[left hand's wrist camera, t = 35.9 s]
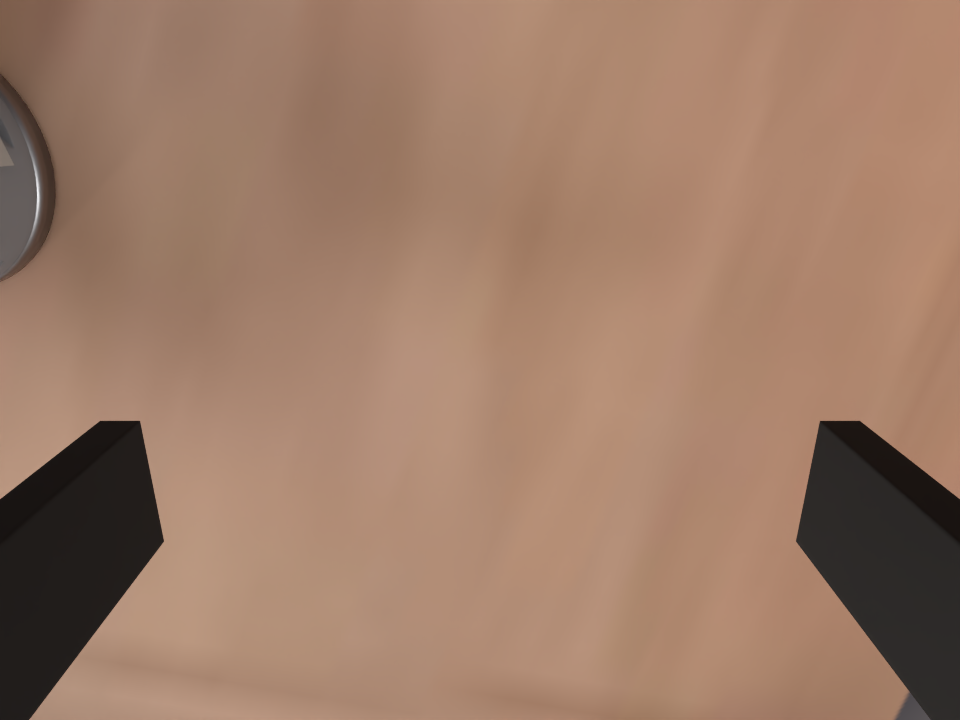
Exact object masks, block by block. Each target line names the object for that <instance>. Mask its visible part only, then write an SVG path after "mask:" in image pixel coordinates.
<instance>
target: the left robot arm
mask: <svg viewBox="0 0 960 720" xmlns="http://www.w3.org/2000/svg"><path fill="white" fill-rule="evenodd" d="M54 208H55V179H54V172H53V167H52V162H51V158H50V154H49V151H48V148H47V145H46V142H45V140H44V137H43V135H42V133H41V130H40V128H39V126H38V124H37V122H36V120H35V119H34V117H33V115H32V113H31V112H30V110H29V109H28V107H27V105H26V104H25V103H24V101H23V100H22V98H21V97H20V96H19V94H18V93H17V92H16V91H15V89H14V88H13V87H12V86H11V85H10V84H9V82H8V81H7V80H6V79H5V78H4V77H3V76H2V75H1V74H0V281H3V280H5V279H7V278H9V277H11V276H12V275H14V274H15V273H17V272H18V271H20V270H21V269H22V268H23V267H25V266H26V265H27V264H28V263H29V262H30V261H31V260H32V259H33V258H34V256H35V255H36V254H37V252H38V251H39V250H40V248H41V246H42V244H43V243H44V241H45V239H46V237H47V234H48V232H49V229H50V226H51V223H52V219H53V214H54ZM163 542H164V539H163V534H162V529H161V524H160V519H159V514H158V509H157V504H156V499H155V494H154V489H153V484H152V479H151V474H150V469H149V464H148V459H147V454H146V449H145V444H144V439H143V434H142V429H141V424H140V421H100V422H98V423H97V424H96V425H94V426H93V427H92V428H91V429H89V430H88V431H87V432H86V433H84V434H83V435H82V436H80V437H79V438H78V439H77V440H75V441H74V442H73V443H71V444H70V445H69V446H68V447H66V448H65V449H64V450H63V451H61V452H60V453H59V454H57V455H56V456H55V457H54V458H52V459H51V460H50V461H49V462H47V463H46V464H45V465H43V466H42V467H41V468H40V469H38V470H37V471H36V472H34V473H33V474H32V475H31V476H29V477H28V478H27V479H26V480H24V481H23V482H22V483H20V484H19V485H18V486H17V487H15V488H14V489H13V490H12V491H10V492H9V493H8V494H6V495H5V496H4V497H3V498H1V499H0V720H29V719H30V718H31V716H32V715H33V714H34V713H35V711H36V710H37V709H38V707H39V706H40V705H41V703H42V702H43V701H44V699H45V698H46V697H47V695H48V694H49V693H50V691H51V690H52V689H53V687H54V686H55V685H56V683H57V682H58V681H59V679H60V678H61V677H62V675H63V674H64V673H65V672H66V670H67V669H68V668H69V666H70V665H71V664H72V662H73V661H74V660H75V658H76V657H77V656H78V654H79V653H80V652H81V650H82V649H83V648H84V646H85V645H86V644H87V642H88V641H89V640H90V638H91V637H92V636H93V635H94V633H95V632H96V631H97V629H98V628H99V627H100V625H101V624H102V623H103V621H104V620H105V619H106V617H107V616H108V615H109V613H110V612H111V611H112V609H113V608H114V607H115V605H116V604H117V603H118V601H119V600H120V599H121V597H122V596H123V595H124V594H125V592H126V591H127V590H128V588H129V587H130V586H131V584H132V583H133V582H134V580H135V579H136V578H137V576H138V575H139V574H140V572H141V571H142V570H143V568H144V567H145V566H146V564H147V563H148V562H149V560H150V559H151V558H152V556H153V555H154V554H155V553H156V551H157V550H158V549H159V547H160V546H161V545H162V543H163ZM796 542H797V543H798V545H799V546H800V547H801V549H802V550H803V551H804V553H805V554H806V555H807V556H808V558H809V559H810V560H811V562H812V563H813V564H814V566H815V567H816V568H817V570H818V571H819V572H820V574H821V575H822V576H823V578H824V579H825V580H826V582H827V583H828V584H829V586H830V587H831V588H832V590H833V591H834V592H835V594H836V595H837V596H838V597H839V599H840V600H841V601H842V603H843V604H844V605H845V607H846V608H847V609H848V611H849V612H850V613H851V615H852V616H853V617H854V619H855V620H856V621H857V623H858V624H859V625H860V627H861V628H862V629H863V631H864V632H865V633H866V635H867V636H868V637H869V638H870V640H871V641H872V642H873V644H874V645H875V646H876V648H877V649H878V650H879V652H880V653H881V654H882V656H883V657H884V658H885V660H886V661H887V662H888V664H889V665H890V666H891V668H892V669H893V670H894V672H895V673H896V674H897V675H898V677H899V678H900V679H901V681H902V682H903V683H904V685H905V686H906V687H907V689H908V690H909V691H910V693H911V694H912V695H913V697H914V698H915V699H916V701H917V702H918V703H919V705H920V706H921V707H922V709H923V710H924V711H925V713H926V714H927V715H928V716H929V718H930V719H931V720H960V499H959V498H957V497H956V496H955V495H954V494H952V493H951V492H950V491H948V490H947V489H946V488H945V487H943V486H942V485H941V484H940V483H938V482H937V481H936V480H934V479H933V478H932V477H931V476H929V475H928V474H927V473H926V472H924V471H923V470H922V469H920V468H919V467H918V466H917V465H915V464H914V463H913V462H911V461H910V460H909V459H908V458H906V457H905V456H904V455H903V454H901V453H900V452H899V451H897V450H896V449H895V448H894V447H892V446H891V445H890V444H889V443H887V442H886V441H885V440H883V439H882V438H881V437H880V436H878V435H877V434H876V433H874V432H873V431H872V430H871V429H869V428H868V427H867V426H866V425H864V424H863V423H862V422H860V421H820V424H819V429H818V434H817V439H816V444H815V449H814V454H813V459H812V464H811V469H810V474H809V479H808V484H807V489H806V494H805V499H804V504H803V509H802V514H801V519H800V524H799V529H798V534H797V539H796Z"/></svg>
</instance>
